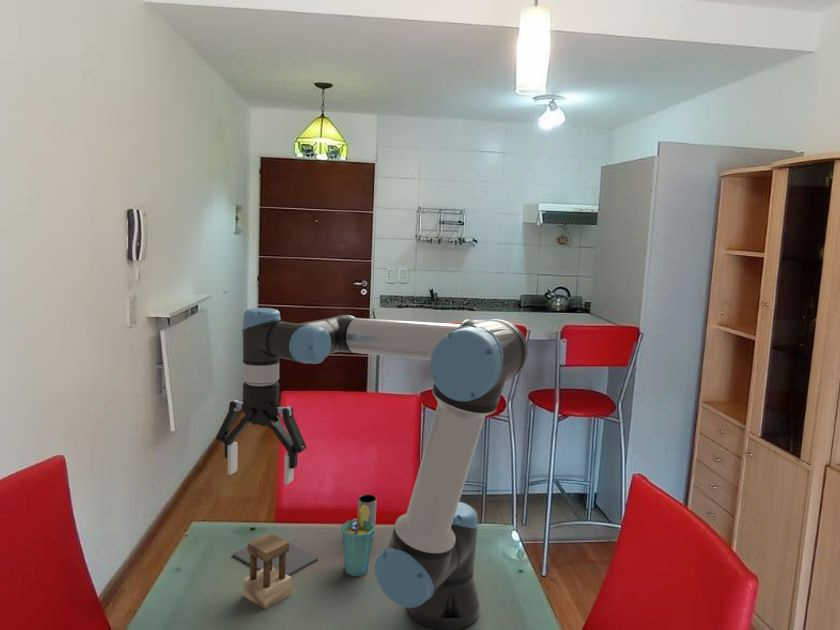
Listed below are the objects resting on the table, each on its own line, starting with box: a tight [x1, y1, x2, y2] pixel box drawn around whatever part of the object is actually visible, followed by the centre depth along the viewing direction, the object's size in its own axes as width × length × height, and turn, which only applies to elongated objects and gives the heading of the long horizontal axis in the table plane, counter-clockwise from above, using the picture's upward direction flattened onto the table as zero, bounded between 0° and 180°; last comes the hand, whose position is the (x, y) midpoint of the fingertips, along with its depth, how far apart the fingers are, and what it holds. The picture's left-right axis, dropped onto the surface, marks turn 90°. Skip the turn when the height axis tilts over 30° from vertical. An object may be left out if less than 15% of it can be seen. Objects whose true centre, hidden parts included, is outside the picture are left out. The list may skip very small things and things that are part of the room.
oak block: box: [242, 567, 292, 610], centre depth 136 cm, size 7×7×4 cm
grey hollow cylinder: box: [357, 494, 377, 540], centre depth 163 cm, size 4×4×10 cm
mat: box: [232, 542, 319, 577], centre depth 151 cm, size 16×12×1 cm
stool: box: [247, 532, 290, 588], centre depth 135 cm, size 6×6×8 cm
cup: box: [340, 505, 376, 577], centre depth 146 cm, size 14×8×15 cm, turn 176°
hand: (260, 477), depth 139 cm, fingers open, 13 cm apart
